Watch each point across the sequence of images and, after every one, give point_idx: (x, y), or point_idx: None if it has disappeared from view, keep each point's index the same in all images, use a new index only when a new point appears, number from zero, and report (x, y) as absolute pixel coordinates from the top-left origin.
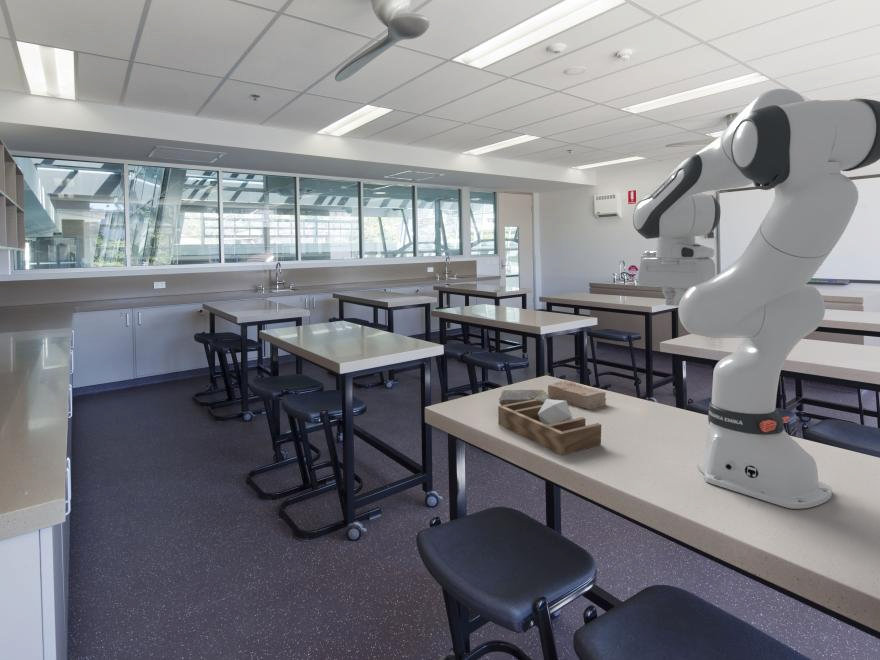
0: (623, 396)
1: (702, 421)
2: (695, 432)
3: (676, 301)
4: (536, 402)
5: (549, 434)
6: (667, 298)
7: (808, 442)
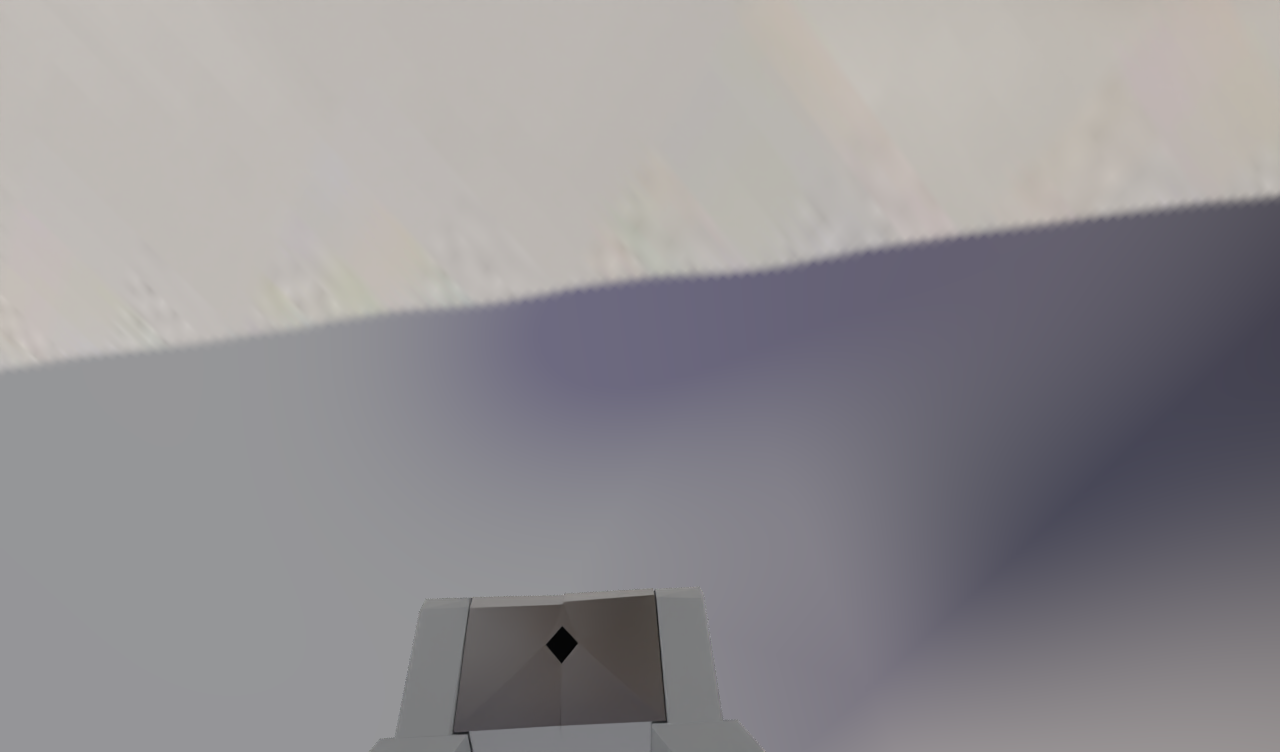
0: (1075, 211)
1: (496, 210)
2: (365, 7)
3: (410, 700)
4: None
5: None
6: (663, 720)
7: (63, 354)
